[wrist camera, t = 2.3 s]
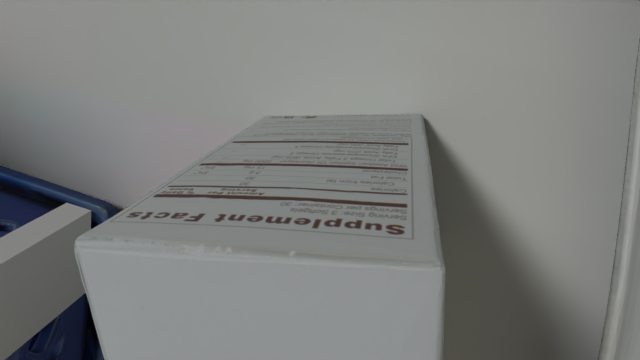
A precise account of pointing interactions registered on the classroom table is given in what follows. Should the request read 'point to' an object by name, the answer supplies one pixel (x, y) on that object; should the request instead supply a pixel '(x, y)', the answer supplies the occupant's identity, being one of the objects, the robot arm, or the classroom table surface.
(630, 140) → the square plate
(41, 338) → the flower pot
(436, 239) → the supplement box
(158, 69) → the classroom table surface
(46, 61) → the classroom table surface
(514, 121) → the classroom table surface
